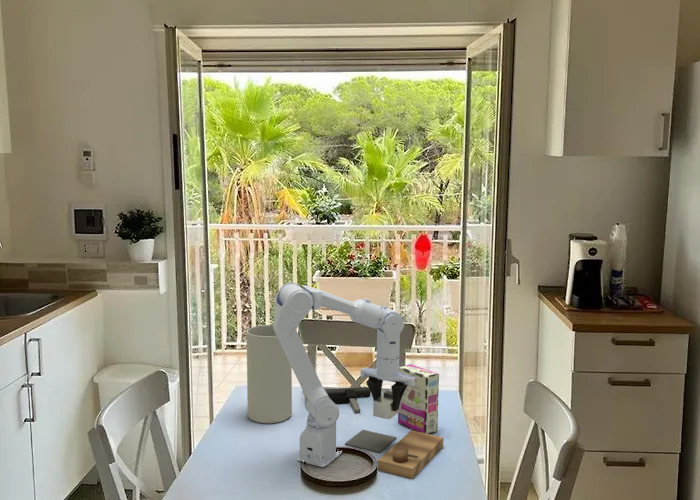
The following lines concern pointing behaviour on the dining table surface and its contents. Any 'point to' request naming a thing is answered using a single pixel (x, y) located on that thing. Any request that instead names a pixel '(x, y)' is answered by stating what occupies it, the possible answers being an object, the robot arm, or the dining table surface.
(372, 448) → the mat
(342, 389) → the black two-tone device
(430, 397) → the candy bar box
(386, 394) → the off-white rectangular block
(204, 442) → the dining table surface
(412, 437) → the wooden board with knob
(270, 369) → the cylinder vase
